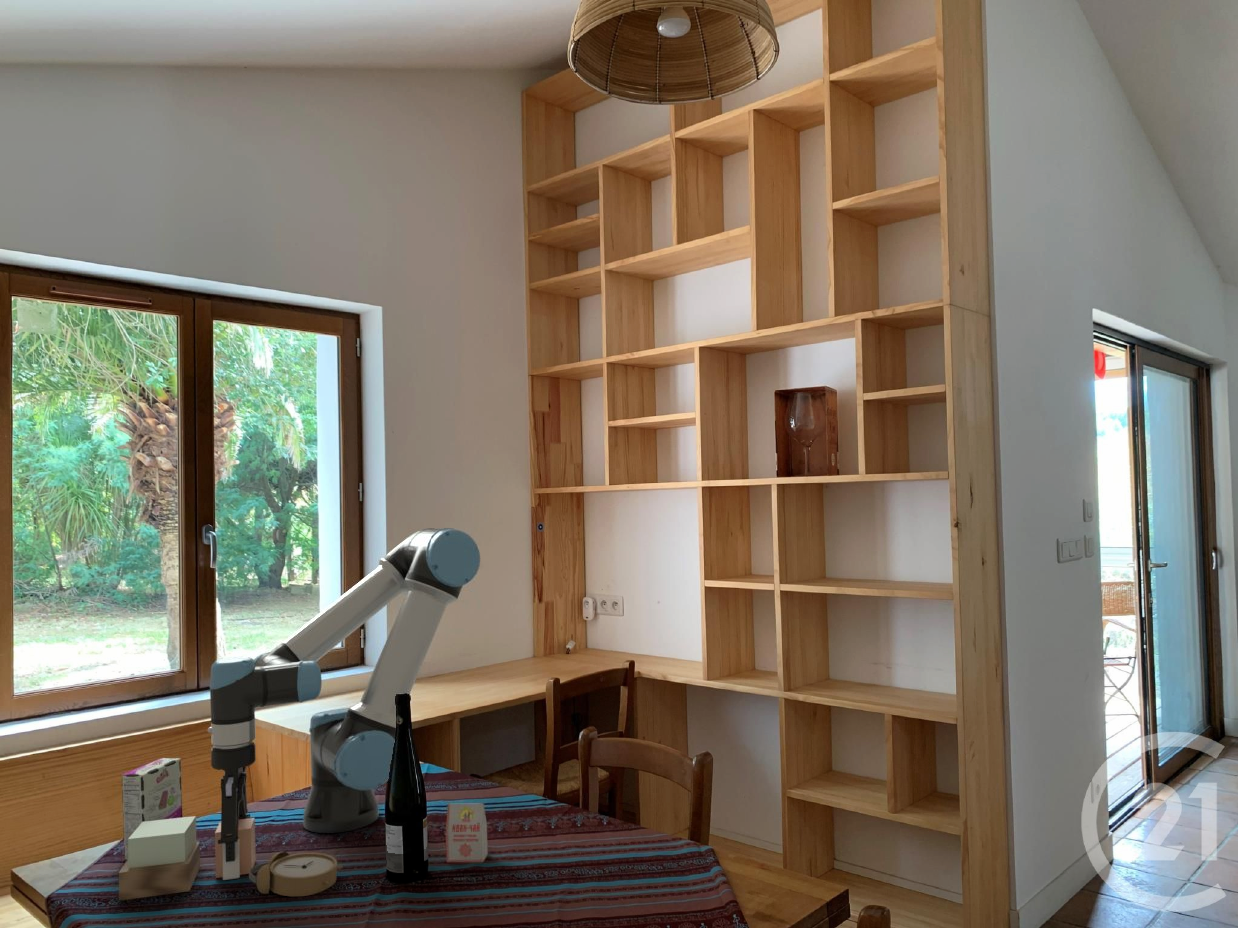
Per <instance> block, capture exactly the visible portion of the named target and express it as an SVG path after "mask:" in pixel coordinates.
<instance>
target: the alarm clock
mask: <svg viewBox="0 0 1238 928" xmlns="http://www.w3.org/2000/svg"><path fill="white" fill-rule="evenodd" d="M340 869H343V865H338V860H337V858H336V857H334V856H332V855H330V854H327V853H321V852H300V853H293V854H289V853H288V852H286V851H278V852H276V853H274V854H273V855H272V856H271V857H270V858H269V860H268V861H267V862H263V863H259V864H255V865H254V867H252V868H251V869H250V871H249V874H248V879H249V880H250V881H252V883H254V884H255V885H256V887H257V888H256V889H257V890H258V891H259V893H260V894H263V895H269V894H270V893H269V892H270V891H271V892H272V893H274V894H277V895H280V896H287V897H305V896H307V897H308V896H310V895H311V896H312V895H316V894H317V893H321V892H323V891H325V890H328V889H329V888H330V887H332V886H333V885H334V884H336V881H337V872H338V871H337V870H340ZM256 872H257V874H256V875H254V873H256Z"/></svg>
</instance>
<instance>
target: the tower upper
mask: <svg viewBox="0 0 1238 928" xmlns="http://www.w3.org/2000/svg"><path fill="white" fill-rule="evenodd" d="M196 842H197V816H196V815H193V816H184V817H183V816H182V818H173V819H164V820H154V821H145V822H142V823H141V824H140V825H139V827H138V828H137V829H136V830H135V831H134V833H133V834H132V835H131V836H130V837H129V839H128V865H129V868H137V867H145V866H154V865H163V864H171V863H180V862H185V861H186V860H187V858H188V856H189V855H190V853H191V852H192V850H193V848H194V847H195V845H196Z"/></svg>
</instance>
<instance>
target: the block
mask: <svg viewBox="0 0 1238 928" xmlns="http://www.w3.org/2000/svg"><path fill="white" fill-rule="evenodd" d="M255 819H256V818H255V817H250V818H248V819H240V820H239V824H238V839H239V852H240V876H241V875H249V871H250V869H251V868H252V867H254V866H255V865H256V864H255V863H256V824H255V823H256V822H255ZM228 835H232V834H228ZM220 838H221V821H220V822H219V823H218V826H217V827H216V830H215V831H214V846H215V847H214V848H215V849H214V850H215V852H214V853H215V859H214V860H215V878H216V879H218V878H219V879H220V878H223V849H222V844H218V840H220Z"/></svg>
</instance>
